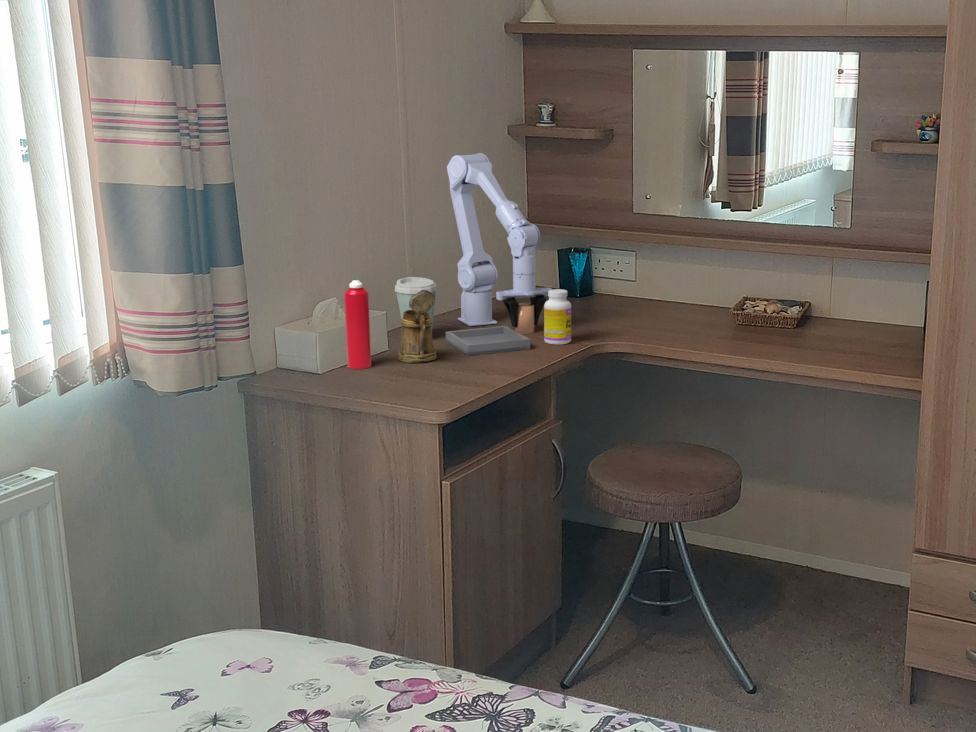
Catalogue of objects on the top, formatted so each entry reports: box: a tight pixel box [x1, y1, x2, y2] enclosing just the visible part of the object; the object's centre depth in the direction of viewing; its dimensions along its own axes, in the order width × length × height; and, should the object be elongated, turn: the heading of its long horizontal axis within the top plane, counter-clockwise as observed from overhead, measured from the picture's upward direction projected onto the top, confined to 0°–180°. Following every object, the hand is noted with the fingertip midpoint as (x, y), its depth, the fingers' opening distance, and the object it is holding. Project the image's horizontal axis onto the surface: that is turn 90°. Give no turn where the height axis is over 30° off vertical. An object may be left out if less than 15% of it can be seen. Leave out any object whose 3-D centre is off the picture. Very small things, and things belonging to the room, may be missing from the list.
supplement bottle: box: [543, 288, 572, 346], centre depth 288 cm, size 7×7×13 cm
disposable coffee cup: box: [394, 276, 438, 333], centre depth 293 cm, size 11×11×15 cm
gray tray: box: [445, 325, 531, 357], centre depth 287 cm, size 16×16×2 cm
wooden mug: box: [397, 290, 437, 364], centre depth 271 cm, size 9×14×18 cm, turn 17°
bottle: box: [343, 279, 372, 370], centre depth 267 cm, size 5×5×20 cm
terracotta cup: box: [514, 302, 535, 335], centre depth 300 cm, size 5×5×7 cm
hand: (524, 325), depth 301 cm, fingers closed on terracotta cup, 5 cm apart
